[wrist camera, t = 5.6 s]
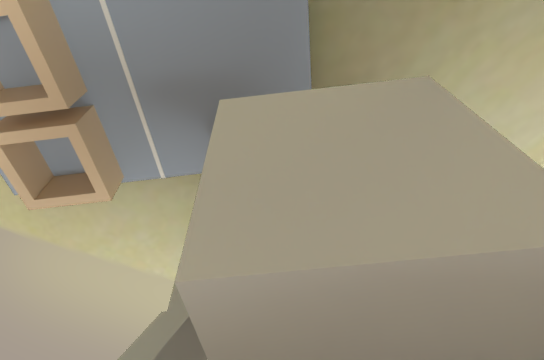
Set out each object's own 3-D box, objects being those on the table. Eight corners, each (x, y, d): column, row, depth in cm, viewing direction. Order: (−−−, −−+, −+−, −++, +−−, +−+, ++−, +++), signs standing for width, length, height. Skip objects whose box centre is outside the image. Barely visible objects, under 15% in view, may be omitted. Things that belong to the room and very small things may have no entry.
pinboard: (302, -55, 20) (314, -54, 16) (311, 150, 28) (320, 181, 24) (-95, -5, 20) (-171, 6, 17) (24, 184, 28) (-9, 220, 25)
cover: (429, 75, 9) (630, 239, 4) (397, 273, 14) (473, 460, 9) (219, 99, 9) (175, 282, 4) (258, 286, 14) (257, 476, 9)
